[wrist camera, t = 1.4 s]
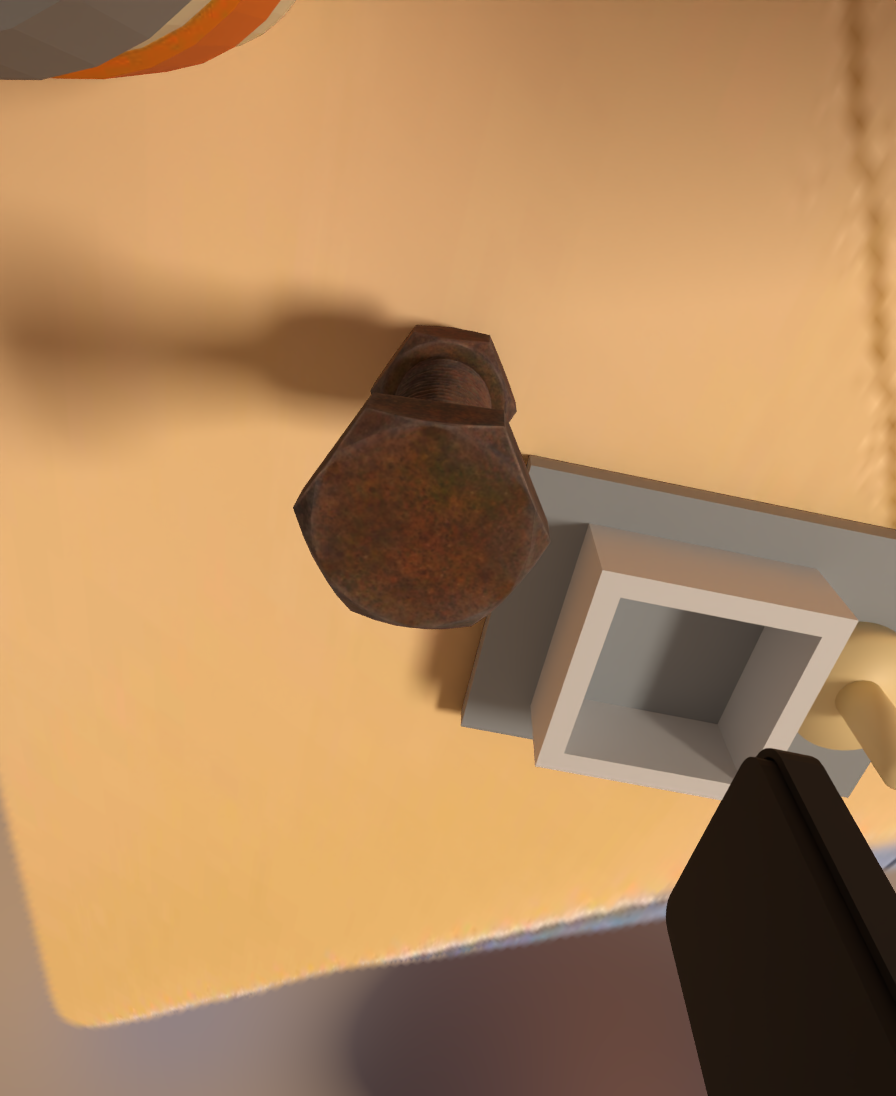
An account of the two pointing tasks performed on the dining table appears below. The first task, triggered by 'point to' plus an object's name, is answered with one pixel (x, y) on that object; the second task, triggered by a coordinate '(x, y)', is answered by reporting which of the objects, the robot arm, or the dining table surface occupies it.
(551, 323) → the dining table surface
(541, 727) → the board
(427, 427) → the bolt
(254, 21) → the reusable coffee cup
